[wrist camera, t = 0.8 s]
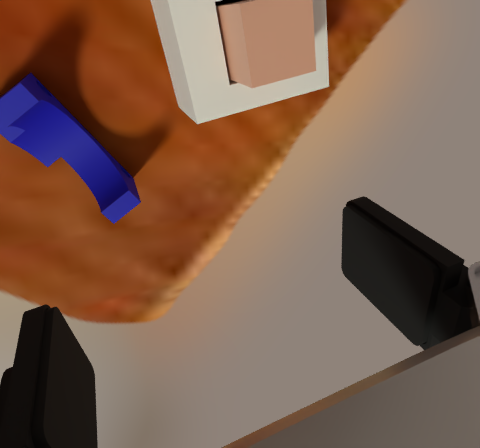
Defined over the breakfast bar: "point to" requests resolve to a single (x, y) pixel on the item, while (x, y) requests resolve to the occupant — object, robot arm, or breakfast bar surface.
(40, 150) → the blue curved piece
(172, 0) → the block
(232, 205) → the breakfast bar surface
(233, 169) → the breakfast bar surface
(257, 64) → the dusty pink cube
